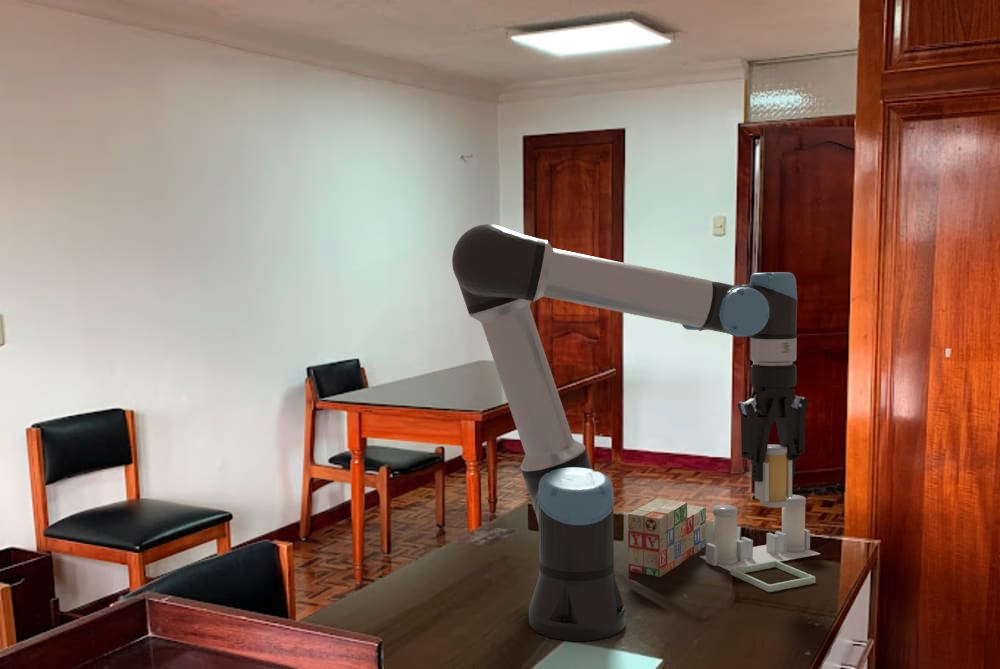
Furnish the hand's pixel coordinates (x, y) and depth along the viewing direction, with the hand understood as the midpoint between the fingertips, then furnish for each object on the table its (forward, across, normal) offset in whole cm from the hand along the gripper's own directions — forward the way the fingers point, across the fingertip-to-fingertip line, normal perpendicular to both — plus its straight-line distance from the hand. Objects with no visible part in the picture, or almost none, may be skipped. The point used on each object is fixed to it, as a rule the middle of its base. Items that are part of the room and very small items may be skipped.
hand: (773, 497), depth 158 cm
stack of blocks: (+16, -10, +18) cm, 26 cm away
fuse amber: (+1, 0, 0) cm, 1 cm away
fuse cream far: (+14, +14, +11) cm, 23 cm away
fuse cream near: (+14, -2, +11) cm, 18 cm away
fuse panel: (+16, +6, +11) cm, 20 cm away
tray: (+16, 0, 0) cm, 16 cm away
